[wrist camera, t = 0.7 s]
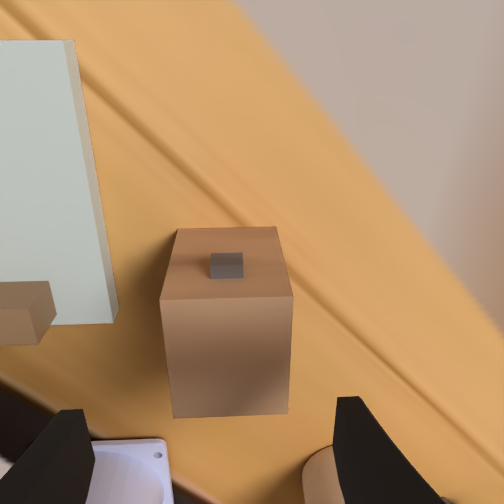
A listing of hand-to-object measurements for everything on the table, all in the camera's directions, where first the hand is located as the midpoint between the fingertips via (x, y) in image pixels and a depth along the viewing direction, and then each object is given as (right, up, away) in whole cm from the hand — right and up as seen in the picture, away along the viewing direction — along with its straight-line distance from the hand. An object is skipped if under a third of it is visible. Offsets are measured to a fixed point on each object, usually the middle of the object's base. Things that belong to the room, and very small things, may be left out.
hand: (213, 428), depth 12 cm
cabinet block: (0, +4, +9) cm, 10 cm away
